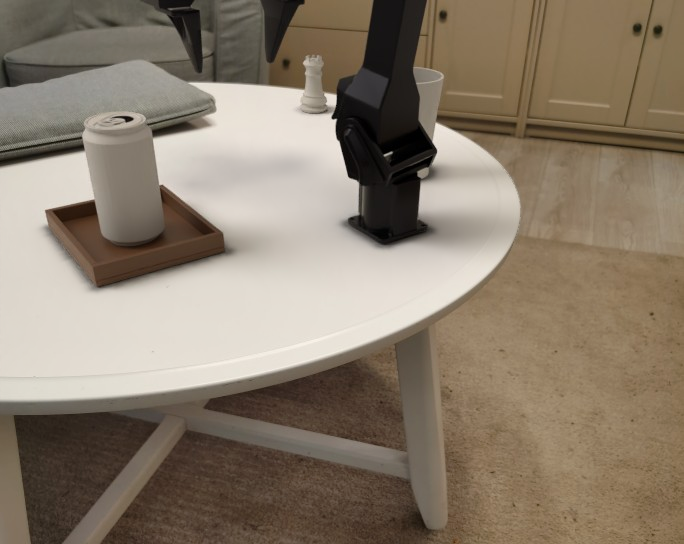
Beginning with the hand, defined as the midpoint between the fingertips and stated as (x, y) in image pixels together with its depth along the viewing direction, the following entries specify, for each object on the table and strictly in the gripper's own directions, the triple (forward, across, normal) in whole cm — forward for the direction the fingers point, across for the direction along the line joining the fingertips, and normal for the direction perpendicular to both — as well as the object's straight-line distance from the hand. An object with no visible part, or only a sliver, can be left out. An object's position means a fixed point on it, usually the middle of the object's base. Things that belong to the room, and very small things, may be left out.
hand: (235, 67), depth 82 cm
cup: (+13, -18, +10) cm, 24 cm away
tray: (+13, +18, +10) cm, 24 cm away
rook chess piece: (+13, -23, -19) cm, 33 cm away
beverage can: (+13, +18, +10) cm, 24 cm away
